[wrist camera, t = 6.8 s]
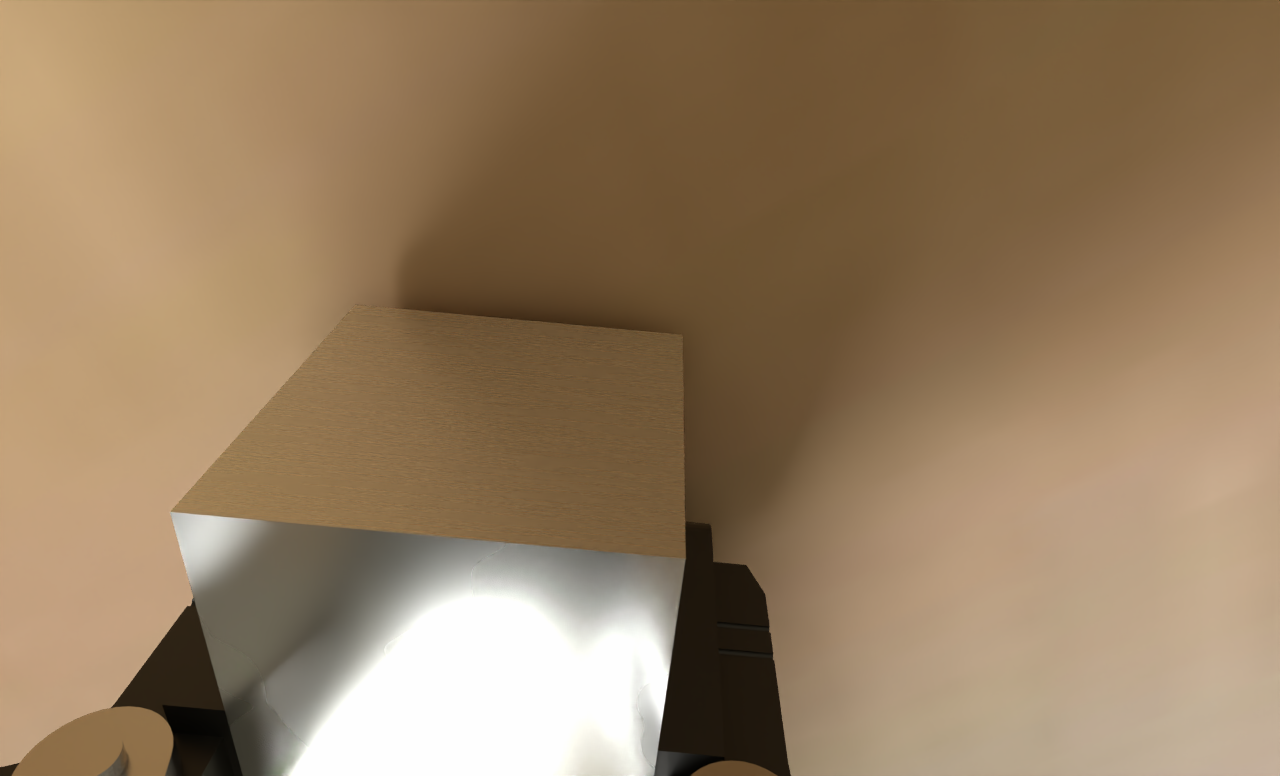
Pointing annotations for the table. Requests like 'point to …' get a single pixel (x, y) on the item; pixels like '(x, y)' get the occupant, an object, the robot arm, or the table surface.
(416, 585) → the orange banded bar
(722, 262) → the table surface
